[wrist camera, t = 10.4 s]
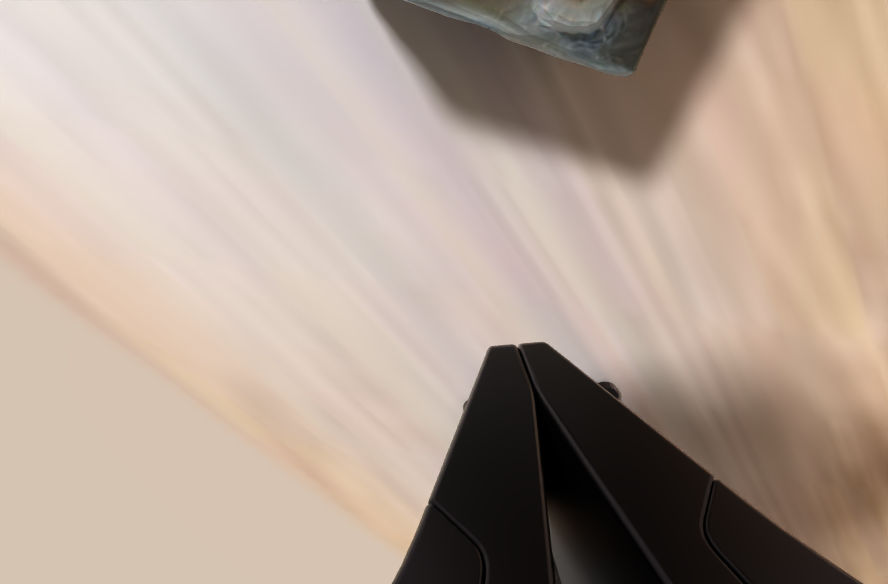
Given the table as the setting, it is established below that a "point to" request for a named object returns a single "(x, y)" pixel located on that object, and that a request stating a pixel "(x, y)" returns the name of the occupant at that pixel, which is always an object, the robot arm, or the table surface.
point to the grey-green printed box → (565, 27)
